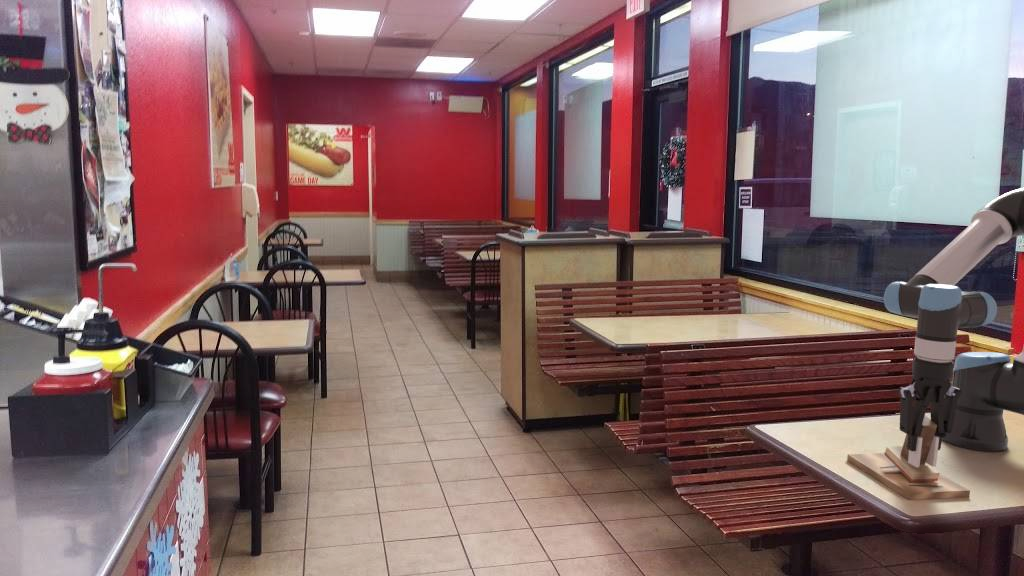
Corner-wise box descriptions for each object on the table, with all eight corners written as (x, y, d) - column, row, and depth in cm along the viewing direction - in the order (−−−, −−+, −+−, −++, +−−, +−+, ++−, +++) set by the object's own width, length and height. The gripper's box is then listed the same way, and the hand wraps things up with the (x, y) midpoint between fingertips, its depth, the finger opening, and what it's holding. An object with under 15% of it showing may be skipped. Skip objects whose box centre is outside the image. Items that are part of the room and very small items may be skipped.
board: (901, 458, 183) (902, 452, 183) (969, 497, 162) (970, 489, 161) (847, 460, 181) (847, 454, 181) (908, 499, 159) (909, 492, 159)
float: (908, 453, 175) (922, 407, 170) (937, 480, 165) (953, 433, 161) (884, 454, 174) (897, 408, 169) (911, 481, 164) (926, 433, 160)
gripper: (955, 353, 167) (943, 457, 171) (886, 354, 165) (876, 459, 168) (981, 362, 160) (968, 469, 163) (909, 363, 157) (898, 472, 161)
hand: (921, 464), depth 166 cm, fingers closed on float, 3 cm apart
